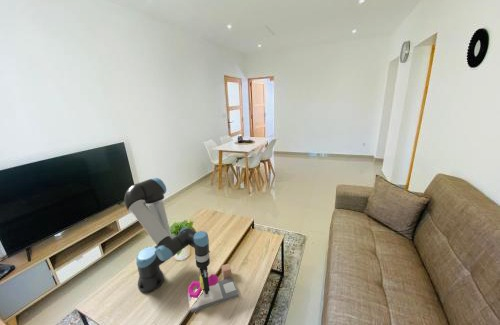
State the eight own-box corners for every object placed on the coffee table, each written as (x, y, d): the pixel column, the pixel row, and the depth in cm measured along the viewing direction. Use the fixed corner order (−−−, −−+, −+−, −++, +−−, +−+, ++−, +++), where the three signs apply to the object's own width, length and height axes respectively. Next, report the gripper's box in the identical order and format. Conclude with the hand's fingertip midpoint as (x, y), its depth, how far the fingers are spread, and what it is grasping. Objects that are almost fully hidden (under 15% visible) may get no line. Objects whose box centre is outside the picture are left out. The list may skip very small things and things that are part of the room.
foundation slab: (190, 313, 117) (189, 311, 117) (187, 293, 128) (187, 291, 128) (238, 296, 127) (238, 294, 127) (232, 278, 139) (232, 277, 138)
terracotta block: (223, 279, 138) (223, 271, 136) (221, 273, 142) (221, 265, 140) (231, 277, 140) (230, 269, 137) (228, 271, 144) (228, 263, 142)
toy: (189, 285, 128) (183, 281, 120) (217, 271, 132) (213, 266, 124) (193, 303, 121) (187, 300, 114) (222, 287, 125) (219, 283, 118)
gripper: (214, 272, 107) (215, 303, 114) (205, 242, 128) (207, 270, 135) (199, 276, 105) (201, 308, 112) (192, 245, 126) (195, 273, 133)
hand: (204, 287), depth 124 cm, fingers closed on toy, 11 cm apart
